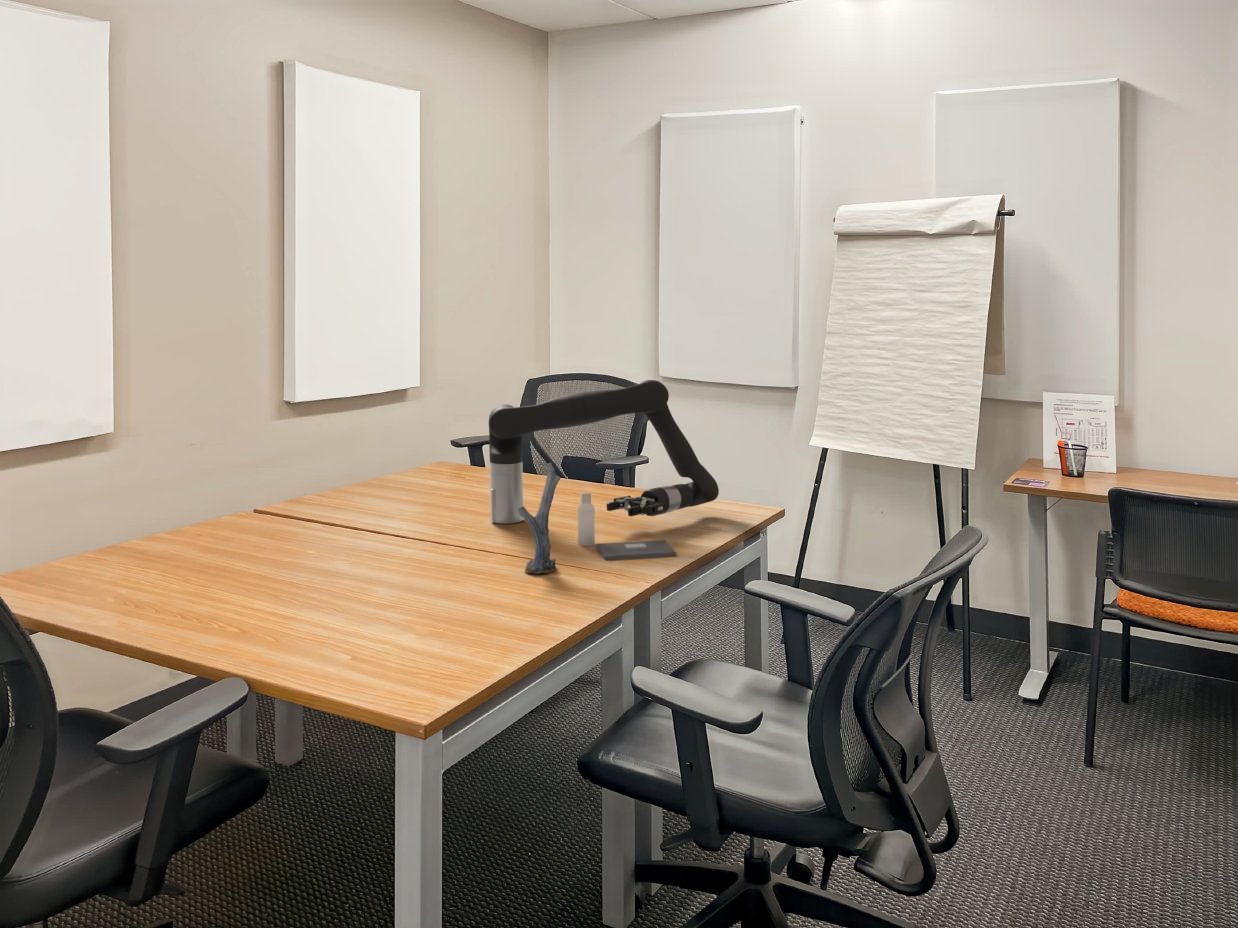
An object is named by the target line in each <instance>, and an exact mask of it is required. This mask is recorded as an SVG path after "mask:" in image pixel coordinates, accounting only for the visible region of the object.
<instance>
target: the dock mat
mask: <svg viewBox="0 0 1238 928" xmlns="http://www.w3.org/2000/svg"><path fill="white" fill-rule="evenodd" d="M596 549H597V550H598V551H599V553H600V554H601V557H602V558H603V559H604V560H605V561H612V560H627V559H628V560H631V559H644V558H646V559H649V558H650V559H651V558H663V557H664V558H665V557H676V556H677V552H676V550H675V549H674V548H673V547H672V546H671V545H670V544H669V543H668V542H667V541H666V540H665V539H657V540H656V539H655V540H639V541H638V540H637V541H621V542H605V543H604V542H603V543H602V542H601V543H596Z"/></svg>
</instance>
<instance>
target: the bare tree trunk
mask: <svg viewBox="0 0 1238 928" xmlns="http://www.w3.org/2000/svg"><path fill="white" fill-rule="evenodd" d="M546 467H547V468H546V479H545V482H544V483H545V484H544V489H543V491H542V495H541V498H540V502H539V507H538V510H537V512H536V514H535V516H533V515H532V514H531V513H530V512H529V511H528V510H527V509H526V507H524V505H523V506H521V507H520V508H518V512H519V514H520V515H521V516H522V517H523V520H525V521H526V522H527V526H528V528H529V530H530V532H531V533H532V537H533V541H534V558H533V559H530V560H529V561H528V562H527V563H526V566H525V569H524V571H525V572H526V573H529V574H541V573H544V574H546V573H551V572H552V571H553V572H554V571H555V570H556V569H557V567H556V558H553V559H550V558H551V547H552V546H551V543H550V538H549V531H550V530H549V515H550V511H551V507H552V502H553V500H554V495H555V492H556V488H557V485H558V483H559V482H560V480H561V476H559V475H557V473H556V470H555V467H554V465H553V463H552V462H548V463H547V466H546Z"/></svg>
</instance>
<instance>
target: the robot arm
mask: <svg viewBox="0 0 1238 928" xmlns="http://www.w3.org/2000/svg"><path fill="white" fill-rule="evenodd" d="M669 395H670V394H669V391H668V388H667V387H666V386H665V384H663V383H662V382H661V381H658V380H656V379H655V380H654V379H647V380H643V381H641V382H640V383H638V384H635V385H631V386H627V387H624V388H617V389H598V390H588V391H587V390H586V391H581V392H580V391H579V392H575V393H569V394H566V395H565V394H564V395H562V396H558V397H555V398H552V399H550V400H547V401H544V402H541V403H538V404H534V405H526V406H517V407H516V406H513V405H511V404H507V403H505V404H504V403H503V404H499V405H497V406H495V407H494V408H493V409H492V410H491V412H490V413H489V417H488V435H489V437H488V438H489V444H488V445H489V478H490V479H489V480H490V481H489V482H490V486H489V504H490V507H489V508H490V521H491V523H492V524H506V525H507V524H516V523H521V522H523V521H524V518H523V517H522V516H521V515H520V514H519V512H518V508H520V507H521V506H523V507H524V480H523V476H524V473H523V471H524V469H523V438H522V437H523V435H527V434H531V433H534V432H539V431H546V430H555V429H565V428H573V427H579V426H584V425H590V424H594V423H599V422H602V421H605V420H609V419H611V418H612V419H613V418H615V417H618V416H619V417H620V416H622V415H623V416H624V415H632V414H644V415H645V416H646V418H647V419H648V421H649V422H650V423H651V425H652V426H653V428H654V430H655V431H656V434H657V435H658V437H659V439H660V441H661V444H662V446H663V447H664V449H665V451H666V453H667V456H668V458H669V459H670V461H671V462H672V465H673V467H674V468H675V470H676V472H677V474H678V476H680V477H681V478H688V479H690V480H691V482H686V483H678V484H677V483H676V484H672V485H662V486H659V487H658V486H657V487H653V488H648V489H645V490H644V491H643V492H642V493H641V495H640V496H638V495H637V496H634V497H632V495H626V496H620V497H614V498H613V501H610V502H607V503H606V511H608V512H611V511H616V510H624V511H626V512H627V515H628V517H634V516H639V515H640V516H645V515H646V516H648V517H655V516H659V515H664V514H668V513H673V512H674V511H677V510H681V509H684V508H685V509H686V508H689V507H690V508H691V507H696V506H700V505H704V504H707V503H710V502H713V501H715V500H717V498H718V497H719V494H720V492H719V491H720V489H719V485H718V482H717V481H716V479H715V478H714V476H713V475H712V474H710V472H709V471H708V470H707V468H706V467H705V466H704V465H702V463H701V462H700V461H699V459H698V457H697V455H696V453H695V451H694V449H693V448H692V445H691V444H690V442H689V441H688V438H687V437H686V436H685V434H684V433H683V432H682V430H681V429H680V427H679V426H678V423H677V422H676V421H675V419H674V417H673V415H672V412H671V410H670V408H669V405H668V401H669V398H670V396H669ZM629 506H630V507H629Z"/></svg>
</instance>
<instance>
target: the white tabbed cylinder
mask: <svg viewBox="0 0 1238 928" xmlns="http://www.w3.org/2000/svg"><path fill="white" fill-rule="evenodd" d="M580 497H581V498H580V504H579V505H578V508H577V545H578V546H582V547H591V546H594V545H595V544H596V536H595V535H596V534H595V533H596V532H595V531H596V529H595V527H596V521H595V518H596V517H595V516H596V514H595V513H596V511H595V506H594V504H593V503H592V494H591V492H583V493H582V492H581V493H580Z"/></svg>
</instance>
